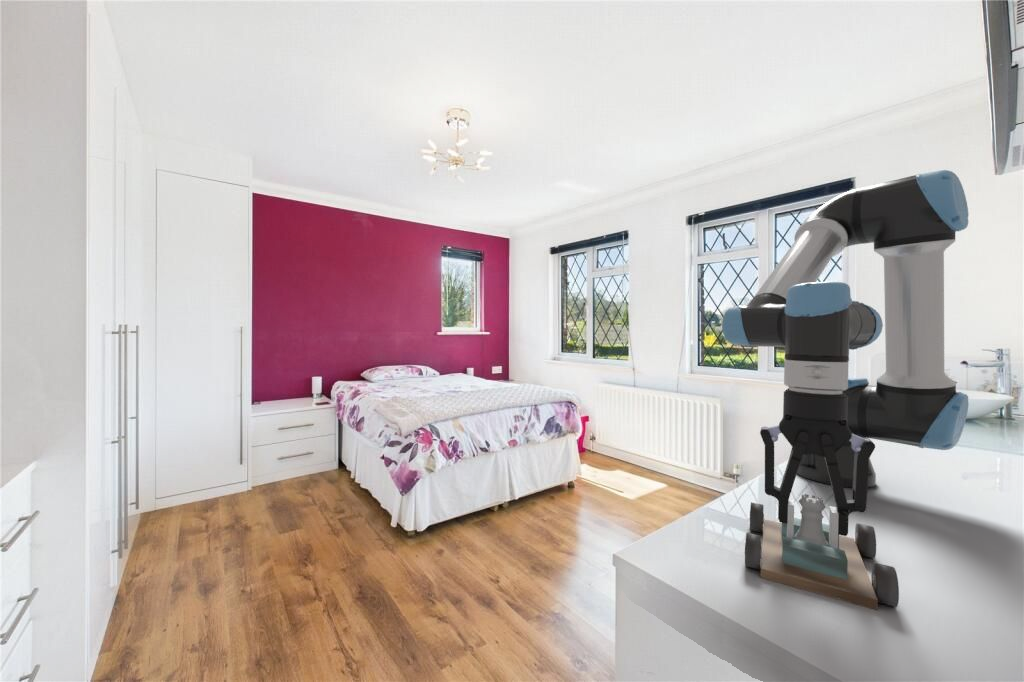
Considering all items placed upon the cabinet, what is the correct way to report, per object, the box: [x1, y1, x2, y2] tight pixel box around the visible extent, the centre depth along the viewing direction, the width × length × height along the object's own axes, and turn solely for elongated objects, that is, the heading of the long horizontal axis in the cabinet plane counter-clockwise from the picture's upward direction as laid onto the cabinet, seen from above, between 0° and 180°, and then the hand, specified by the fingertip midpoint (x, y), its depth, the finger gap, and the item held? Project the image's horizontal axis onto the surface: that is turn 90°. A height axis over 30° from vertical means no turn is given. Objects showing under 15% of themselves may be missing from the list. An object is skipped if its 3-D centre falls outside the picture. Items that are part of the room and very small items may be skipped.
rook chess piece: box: [793, 493, 830, 547], centre depth 60 cm, size 4×4×8 cm
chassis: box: [744, 502, 900, 611], centre depth 60 cm, size 18×16×4 cm
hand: (810, 549), depth 60 cm, fingers closed on rook chess piece, 4 cm apart
